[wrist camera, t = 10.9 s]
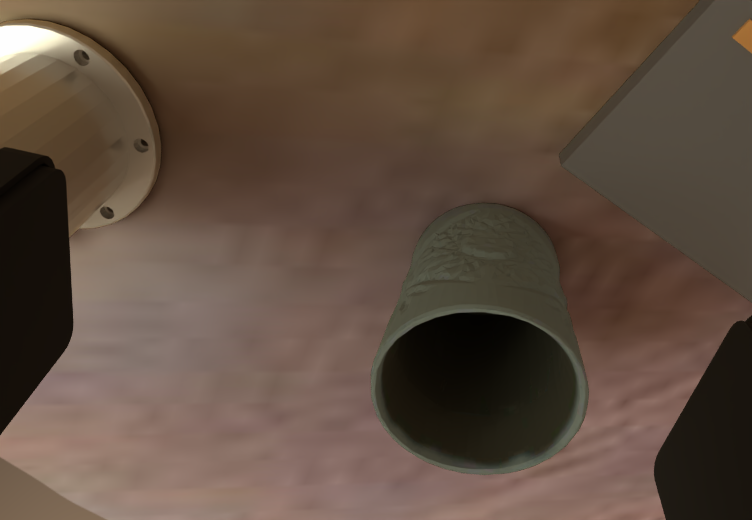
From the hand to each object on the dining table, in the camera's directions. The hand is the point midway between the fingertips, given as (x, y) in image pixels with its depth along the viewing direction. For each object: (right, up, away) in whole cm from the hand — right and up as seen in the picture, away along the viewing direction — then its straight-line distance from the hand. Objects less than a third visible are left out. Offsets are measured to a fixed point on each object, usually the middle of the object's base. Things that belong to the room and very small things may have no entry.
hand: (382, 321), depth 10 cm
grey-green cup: (+6, +1, +33) cm, 34 cm away
